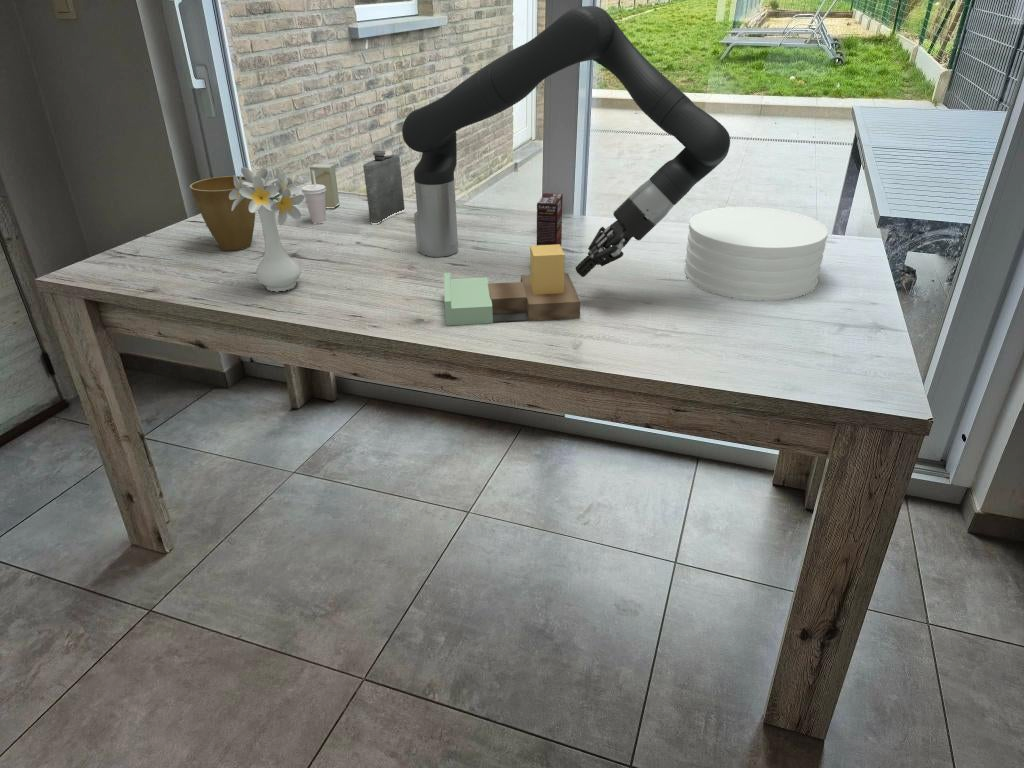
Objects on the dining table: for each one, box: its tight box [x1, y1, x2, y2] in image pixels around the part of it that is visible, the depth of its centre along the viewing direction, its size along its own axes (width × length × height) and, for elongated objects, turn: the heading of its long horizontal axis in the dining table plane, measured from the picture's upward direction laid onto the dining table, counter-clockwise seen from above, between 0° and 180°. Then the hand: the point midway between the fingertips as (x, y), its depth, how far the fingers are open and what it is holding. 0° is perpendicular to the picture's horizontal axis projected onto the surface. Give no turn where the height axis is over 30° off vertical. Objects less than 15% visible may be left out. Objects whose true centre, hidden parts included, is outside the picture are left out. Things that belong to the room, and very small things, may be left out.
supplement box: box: [536, 192, 564, 246], centre depth 157 cm, size 9×5×16 cm, turn 168°
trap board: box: [488, 272, 581, 324], centre depth 142 cm, size 17×15×4 cm
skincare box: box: [309, 163, 340, 207], centre depth 204 cm, size 6×4×12 cm
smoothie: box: [301, 171, 327, 224], centre depth 191 cm, size 6×6×14 cm
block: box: [529, 244, 566, 295], centre depth 139 cm, size 6×6×8 cm
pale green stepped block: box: [443, 272, 494, 326], centre depth 141 cm, size 9×15×5 cm, turn 5°
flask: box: [362, 150, 405, 223], centre depth 193 cm, size 4×14×18 cm, turn 153°
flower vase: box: [229, 167, 305, 293], centre depth 147 cm, size 13×18×25 cm
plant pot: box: [189, 175, 256, 252], centre depth 174 cm, size 15×15×16 cm
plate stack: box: [683, 206, 829, 301], centre depth 152 cm, size 28×28×12 cm
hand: (578, 273), depth 140 cm, fingers closed
